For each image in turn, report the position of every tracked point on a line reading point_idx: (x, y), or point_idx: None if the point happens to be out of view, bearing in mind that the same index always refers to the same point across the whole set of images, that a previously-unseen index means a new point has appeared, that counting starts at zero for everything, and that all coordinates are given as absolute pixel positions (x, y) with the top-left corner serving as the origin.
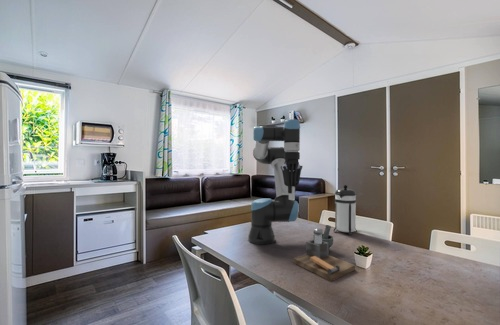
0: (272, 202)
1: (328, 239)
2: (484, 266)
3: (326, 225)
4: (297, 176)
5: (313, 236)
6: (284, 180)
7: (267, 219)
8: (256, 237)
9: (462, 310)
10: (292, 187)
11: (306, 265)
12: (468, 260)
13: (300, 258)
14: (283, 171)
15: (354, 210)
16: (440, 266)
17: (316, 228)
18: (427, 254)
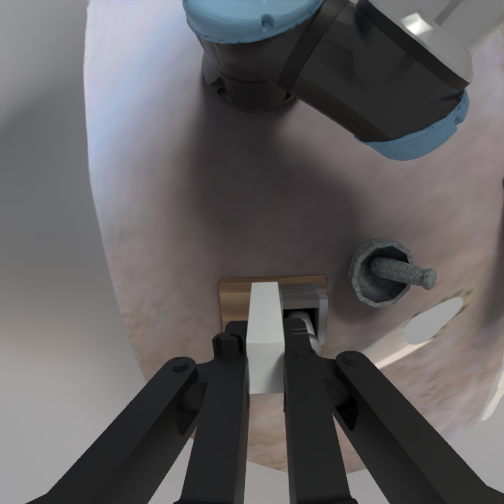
0: (306, 27)
1: (373, 304)
2: (467, 424)
3: (426, 279)
4: (372, 464)
5: (371, 243)
6: (140, 403)
7: (252, 73)
8: (210, 83)
9: None
10: (250, 387)
11: (223, 327)
12: (480, 409)
13: (236, 295)
14: (68, 501)
15: None
16: (438, 413)
17: (313, 340)
18: (480, 379)
